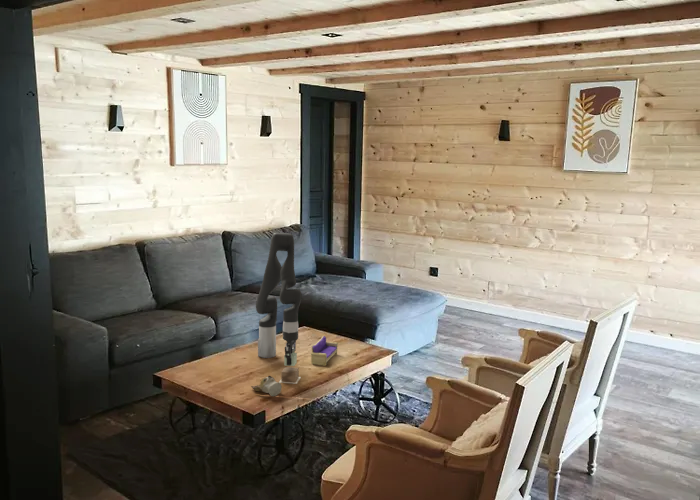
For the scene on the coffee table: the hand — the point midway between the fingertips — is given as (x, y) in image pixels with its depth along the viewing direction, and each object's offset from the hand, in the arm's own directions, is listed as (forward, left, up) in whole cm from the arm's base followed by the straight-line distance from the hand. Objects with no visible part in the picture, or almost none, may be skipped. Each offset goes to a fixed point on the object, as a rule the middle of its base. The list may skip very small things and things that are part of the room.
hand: (290, 363), depth 298 cm
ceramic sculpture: (-6, -16, -10) cm, 20 cm away
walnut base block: (0, 0, -8) cm, 8 cm away
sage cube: (0, 0, 0) cm, 0 cm away
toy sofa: (+11, +35, -10) cm, 38 cm away
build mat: (0, 0, -9) cm, 9 cm away
